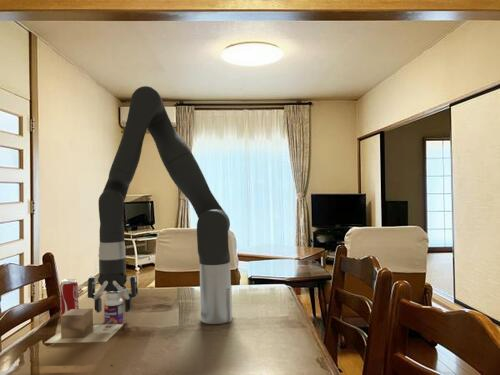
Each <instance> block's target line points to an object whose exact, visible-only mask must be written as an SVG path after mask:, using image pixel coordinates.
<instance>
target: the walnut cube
mask: <svg viewBox="0 0 500 375" xmlns="http://www.w3.org/2000/svg"><path fill="white" fill-rule="evenodd" d="M93 310H94V309H93V308H79V309H71V310H69V311H67V312H66V313H64V314H62V315H61V314H60V331H61V339H64V338H85V337H86V336H87V335H88V334H89V333H91V332H92V331H93V325H94V319H93V318H94V316H93V314H94V313H93V312H94V311H93Z"/></svg>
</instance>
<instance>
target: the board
mask: <svg viewBox="0 0 500 375" xmlns="http://www.w3.org/2000/svg"><path fill="white" fill-rule="evenodd" d="M119 324H120V325H119V326H118V327H117V328H116V329H115V330H114V331H113V332H112V333H93V332H94V331H96V330H97V329H98V328H99V327H100V326H102V325H103V324H93V331H92V332H91V333H89V334H88V335H87V336H86V337H85V338H64V339H61V330H60V331H59V332H58V333H56V334H55V335H53V336H51V337H50V338H49V339H47V340H46V341H44V344H59V343H60V344H62V343H65V344H66V343H67V344H68V343H69V344H70V343H107V342H108V340H110V339H111V338H112V337H113V336H114V335H115V334H116V333H117V332H118V331H119V330H120V329H121V328H122V327H123V326H124V325H125V323H119Z"/></svg>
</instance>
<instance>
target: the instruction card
mask: <svg viewBox="0 0 500 375" xmlns="http://www.w3.org/2000/svg"><path fill="white" fill-rule="evenodd" d="M120 324H121V323H117V324H105V323H104V324H101V325H102V326H100V327H99V328H98V329H97V330H96V331H94V332H93V333H112V332H113V331H114V330H115V329H116V328H117V327H118V326H119V325H120Z"/></svg>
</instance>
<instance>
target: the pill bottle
mask: <svg viewBox="0 0 500 375" xmlns="http://www.w3.org/2000/svg"><path fill="white" fill-rule="evenodd" d="M105 294H106V295H105V297H106V300H105V301H104V302H103V310H104V311H103V312H104V314H103V316H104V317H103V318H104V324H122V323H123V322H124V319H125V318H124V300H123V298H121V295H122V294H121V293H120V292H119V291H117V292H113V291H110V292H107V291H106V293H105Z"/></svg>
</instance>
